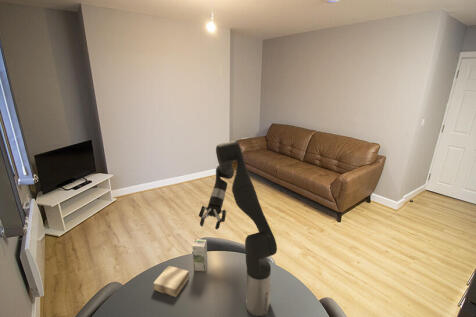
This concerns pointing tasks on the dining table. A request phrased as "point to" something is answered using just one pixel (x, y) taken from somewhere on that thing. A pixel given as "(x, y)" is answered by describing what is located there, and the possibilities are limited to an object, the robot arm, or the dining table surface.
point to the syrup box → (200, 255)
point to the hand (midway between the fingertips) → (208, 227)
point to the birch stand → (171, 281)
